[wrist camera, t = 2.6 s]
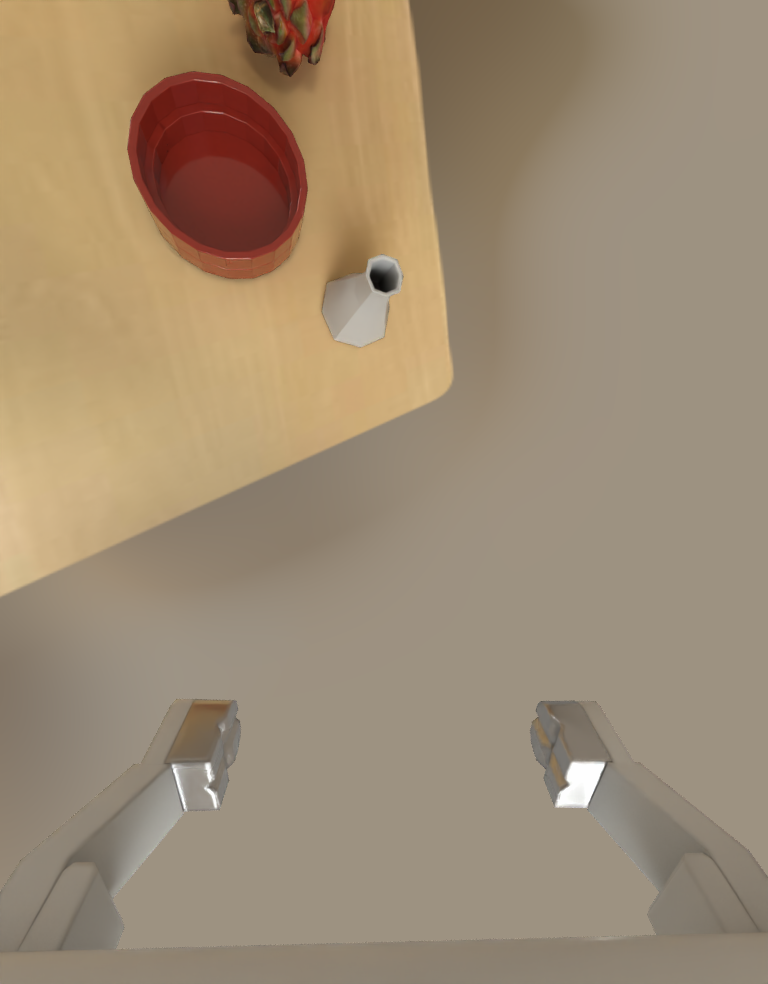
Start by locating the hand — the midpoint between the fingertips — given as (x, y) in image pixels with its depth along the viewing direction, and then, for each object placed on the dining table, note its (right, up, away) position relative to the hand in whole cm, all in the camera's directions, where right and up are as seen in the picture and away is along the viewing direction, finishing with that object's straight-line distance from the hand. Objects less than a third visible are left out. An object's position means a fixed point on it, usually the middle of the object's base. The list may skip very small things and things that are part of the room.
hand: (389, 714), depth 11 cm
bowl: (-14, +33, +25) cm, 44 cm away
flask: (-3, +25, +30) cm, 39 cm away
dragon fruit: (-10, +48, +25) cm, 55 cm away
